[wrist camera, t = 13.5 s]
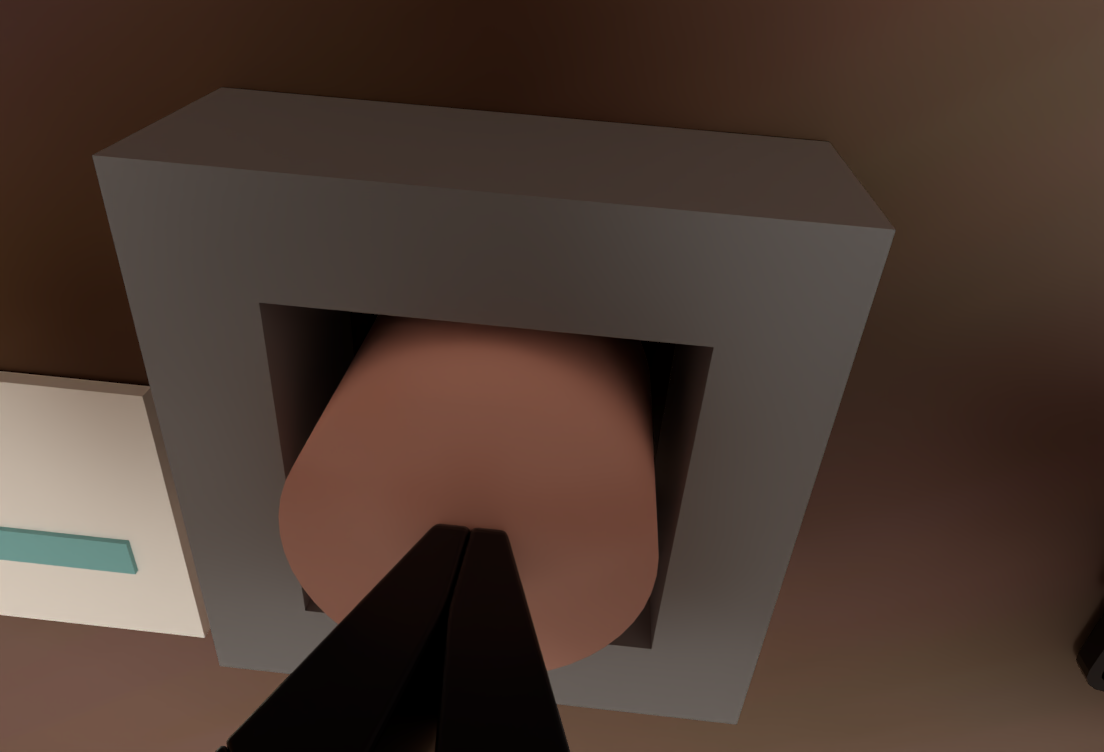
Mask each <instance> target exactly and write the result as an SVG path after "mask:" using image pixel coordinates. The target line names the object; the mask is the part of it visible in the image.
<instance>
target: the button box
mask: <svg viewBox="0 0 1104 752" xmlns="http://www.w3.org/2000/svg"><path fill="white" fill-rule="evenodd" d="M92 157H93V161H94V165H95V169H96V173H97V177H98V181H99V185H100V189H101V193H102V197H103V201H104V205H105V209H106V213H107V217H108V221H109V225H110V229H111V233H112V237H113V241H114V245H115V249H116V253H117V257H118V261H119V265H120V269H121V273H122V277H123V281H124V285H125V289H126V293H127V297H128V301H129V305H130V309H131V313H132V317H133V321H134V325H135V329H136V333H137V337H138V341H139V345H140V349H141V353H142V357H143V361H144V365H145V369H146V373H147V377H148V381H149V385H150V389H151V393H152V397H153V401H154V405H155V409H156V413H157V417H158V421H159V425H160V429H161V433H162V437H163V441H164V445H165V449H166V453H167V457H168V461H169V465H170V469H171V473H172V477H173V481H174V485H175V489H176V493H177V497H178V501H179V505H180V509H181V513H182V517H183V521H184V525H185V529H186V533H187V537H188V541H189V545H190V549H191V553H192V557H193V561H194V565H195V569H196V573H197V577H198V581H199V585H200V589H201V593H202V597H203V601H204V605H205V609H206V613H207V616H208V620H209V624H210V628H211V632H212V636H213V640H214V644H215V648H216V652H217V656H218V660H219V664H220V666H225V667H234V668H242V669H251V670H260V671H269V672H278V673H287V674H291V673H292V672H293V671H294V670H295V669H296V668H297V667H298V666H299V665H300V664H301V663H302V662H303V661H304V659H305V658H306V657H307V656H308V655H309V654H310V653H311V652H312V651H313V650H314V649H315V648H316V647H317V646H318V645H319V644H320V643H321V642H322V641H323V640H324V639H325V638H326V637H327V636H328V634H329V633H330V632H331V631H332V630H333V629H334V628H335V627H336V626H337V625H338V624H337V623H336V622H335V621H333V620H332V619H331V618H330V617H329V616H327V615H326V614H325V613H324V612H323V611H322V610H321V609H320V608H319V607H318V606H317V605H316V604H315V603H314V601H313V600H312V599H311V598H310V596H309V595H308V594H307V593H306V591H305V590H304V589H303V587H302V586H301V585H300V583H299V581H298V580H297V578H296V576H295V575H294V573H293V571H292V570H291V567H290V565H289V562H288V560H287V558H286V555H285V553H284V549H283V545H282V541H281V537H280V531H279V518H278V515H279V505H280V497H281V494H282V491H283V487H284V484H285V481H286V479H287V477H288V475H289V473H290V471H291V469H292V467H293V465H294V463H295V461H296V460H297V458H298V456H299V454H300V452H301V451H302V449H303V447H304V445H305V444H306V442H307V440H308V438H309V437H310V435H311V433H312V431H313V429H314V428H315V426H316V424H317V422H318V421H319V419H320V417H321V415H322V414H323V412H324V410H325V408H326V406H327V405H328V403H329V401H330V399H331V398H332V396H333V394H334V392H335V391H336V389H337V387H338V385H339V383H340V382H341V380H342V378H343V376H344V375H345V373H346V371H347V369H348V368H349V366H350V364H351V362H352V360H353V359H354V351H353V338H352V326H351V313H350V312H360V313H370V314H380V315H391V316H401V317H411V318H421V319H431V320H441V321H452V322H462V323H472V324H482V325H492V326H502V327H513V328H523V329H533V330H543V331H553V332H563V333H574V334H584V335H594V336H604V337H614V338H625V339H635V340H645V341H655V342H665V343H675V344H676V345H675V350H674V356H673V362H672V368H671V373H670V379H669V385H668V390H667V396H666V402H665V407H664V413H663V419H662V424H661V430H660V436H659V441H658V447H657V453H656V459H655V464H654V465H655V487H656V509H657V530H658V552H659V559H658V569H657V576H656V580H655V583H654V586H653V590H652V593H651V595H650V597H649V599H648V601H647V603H646V605H645V607H644V609H643V610H642V611H641V613H640V614H639V615H638V617H637V618H636V620H635V621H634V622H633V623H632V624H631V625H630V626H629V627H628V628H627V629H626V630H625V631H624V632H623V633H622V634H621V635H620V636H619V637H618V638H616V639H615V640H614V641H612V642H611V643H610V644H608V645H607V646H606V647H604V648H602V649H601V650H599V651H597V652H595V653H594V654H592V655H590V656H588V657H586V658H584V659H581V660H579V661H577V662H574V663H572V664H569V665H566V666H563V667H559V668H556V669H553V670H549V671H547V673H548V676H549V680H550V683H551V687H552V690H553V694H554V697H555V701H556V704H560V705H569V706H578V707H587V708H596V709H604V710H613V711H622V712H631V713H640V714H648V715H657V716H666V717H675V718H684V719H693V720H701V721H710V722H719V723H728V724H737V722H738V719H739V716H740V713H741V710H742V706H743V703H744V700H745V697H746V694H747V691H748V688H749V685H750V682H751V678H752V675H753V672H754V669H755V666H756V663H757V660H758V657H759V654H760V650H761V647H762V644H763V641H764V638H765V635H766V632H767V629H768V626H769V623H770V619H771V616H772V613H773V610H774V607H775V604H776V601H777V598H778V595H779V591H780V588H781V585H782V582H783V579H784V576H785V573H786V570H787V567H788V563H789V560H790V557H791V554H792V551H793V548H794V545H795V542H796V539H797V535H798V532H799V529H800V526H801V523H802V520H803V517H804V514H805V511H806V507H807V504H808V501H809V498H810V495H811V492H812V489H813V486H814V483H815V479H816V476H817V473H818V470H819V467H820V464H821V461H822V458H823V455H824V451H825V448H826V445H827V442H828V439H829V436H830V433H831V430H832V427H833V423H834V420H835V417H836V414H837V411H838V408H839V405H840V402H841V399H842V395H843V392H844V389H845V386H846V383H847V380H848V377H849V374H850V371H851V367H852V364H853V361H854V358H855V355H856V352H857V349H858V346H859V343H860V339H861V336H862V333H863V330H864V327H865V324H866V321H867V318H868V315H869V311H870V308H871V305H872V302H873V299H874V296H875V293H876V290H877V287H878V283H879V280H880V277H881V274H882V271H883V268H884V265H885V262H886V259H887V255H888V252H889V249H890V246H891V243H892V240H893V237H894V234H895V231H896V230H895V228H894V227H893V226H892V224H891V223H890V222H889V220H888V219H887V218H886V216H885V215H884V214H883V212H882V211H881V210H880V208H879V207H878V206H877V204H876V203H875V202H874V200H873V199H872V198H871V196H870V195H869V194H868V192H867V191H866V190H865V188H864V187H863V186H862V185H861V183H860V182H859V181H858V179H857V178H856V177H855V175H854V174H853V173H852V171H851V170H850V169H849V167H848V166H847V165H846V163H845V162H844V161H843V159H842V158H841V157H840V155H839V154H838V153H837V151H836V150H835V149H834V147H833V146H832V145H831V143H830V142H826V141H815V140H804V139H792V138H781V137H770V136H759V135H748V134H737V133H725V132H714V131H703V130H692V129H681V128H670V127H659V126H647V125H636V124H625V123H614V122H603V121H592V120H580V119H569V118H558V117H547V116H536V115H525V114H513V113H502V112H491V111H480V110H469V109H458V108H447V107H435V106H424V105H413V104H402V103H391V102H380V101H368V100H357V99H346V98H335V97H324V96H313V95H302V94H290V93H279V92H268V91H257V90H246V89H235V88H223V87H221V88H219V89H217V90H215V91H213V92H211V93H210V94H208V95H206V96H204V97H202V98H200V99H198V100H196V101H194V102H192V103H191V104H189V105H187V106H185V107H183V108H181V109H179V110H177V111H175V112H173V113H172V114H170V115H168V116H166V117H164V118H162V119H160V120H158V121H156V122H154V123H152V124H151V125H149V126H147V127H145V128H143V129H141V130H139V131H137V132H135V133H133V134H132V135H130V136H128V137H126V138H124V139H122V140H120V141H118V142H116V143H114V144H112V145H111V146H109V147H107V148H105V149H103V150H101V151H99V152H97V153H95V154H93V155H92Z"/></svg>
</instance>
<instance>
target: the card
mask: <svg viewBox="0 0 1104 752" xmlns="http://www.w3.org/2000/svg"><path fill="white" fill-rule="evenodd" d="M0 615H6V616H15V617H24V618H33V619H42V620H51V621H60V622H69V623H78V624H87V625H96V626H104V627H113V628H122V629H131V630H140V631H149V632H158V633H167V634H176V635H185V636H194V637H202V638H205V637H206V635H207V633H208V631H209V629H210V624H209V620H208V616H207V613H206V609H205V605H204V601H203V597H202V593H201V589H200V585H199V581H198V577H197V573H196V569H195V565H194V561H193V557H192V553H191V549H190V545H189V541H188V537H187V533H186V529H185V525H184V521H183V517H182V513H181V509H180V505H179V501H178V497H177V493H176V489H175V485H174V481H173V477H172V473H171V469H170V465H169V461H168V457H167V453H166V449H165V445H164V441H163V437H162V433H161V429H160V425H159V421H158V417H157V413H156V409H155V405H154V401H153V397H152V393H151V389H150V386H142V385H132V384H122V383H112V382H103V381H93V380H83V379H73V378H63V377H54V376H44V375H34V374H24V373H15V372H5V371H0Z"/></svg>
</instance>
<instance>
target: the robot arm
mask: <svg viewBox="0 0 1104 752" xmlns="http://www.w3.org/2000/svg"><path fill="white" fill-rule="evenodd" d="M1076 661H1077V664H1078V666H1079V668H1080V670H1081V672H1082V673H1083V675H1084V677H1085V679H1086V680H1087V682H1088V684H1089V685H1090V686H1092V687H1093V688H1094V689H1096V690H1100V691H1104V615H1103V616H1102V618H1101V619H1100V621H1099V622H1098V624H1097V625H1096V627H1095V628H1094V630H1093V631H1092V633H1091V634H1090V636H1089V637H1088V639H1087V640H1086V642H1085V643H1084V645H1083V647H1082V648H1081V650H1080V651H1079V653H1078V655H1077V658H1076ZM227 748H228V749H227ZM216 752H570V750H569V746H568V743H567V739H566V736H565V732H564V729H563V725H562V722H561V718H560V715H559V711H558V708H557V704H556V701H555V697H554V694H553V690H552V687H551V683H550V680H549V676H548V673H547V669H546V666H545V662H544V659H543V655H542V652H541V649H540V645H539V642H538V638H537V635H536V631H535V628H534V624H533V621H532V617H531V614H530V610H529V607H528V603H527V600H526V596H525V593H524V589H523V586H522V582H521V579H520V575H519V572H518V568H517V565H516V561H515V558H514V554H513V551H512V547H511V544H510V540H509V537H508V535H507V533H506V532H505V531H503V530H496V529H487V528H474V529H473V530H472V531H471V532H470V530H469V528H467V527H466V526H458V525H449V524H436V525H434V526H432V527H431V528H430V529H429V530H428V531H427V532H426V534H425V535H424V536H423V537H422V538H421V539H420V540H419V541H418V542H417V543H416V544H415V545H414V546H413V547H412V548H411V549H410V550H409V551H408V552H407V553H406V554H405V555H404V556H403V557H402V559H401V560H400V561H399V562H398V563H397V564H396V565H395V566H394V567H393V568H392V569H391V570H390V571H389V572H388V573H387V574H386V575H385V576H384V577H383V578H382V579H381V580H380V581H379V582H378V584H377V585H376V586H375V587H374V588H373V589H372V590H371V591H370V592H369V593H368V594H367V595H366V596H365V597H364V598H363V599H362V600H361V601H360V602H359V603H358V604H357V605H356V606H355V607H354V608H353V610H352V611H351V612H350V613H349V614H348V615H347V616H346V617H345V618H344V619H343V620H342V621H341V622H340V623H339V624H338V625H337V626H336V627H335V628H334V629H333V630H332V631H331V632H330V633H329V634H328V636H327V637H326V638H325V639H324V640H323V641H322V642H321V643H320V644H319V645H318V646H317V647H316V648H315V649H314V650H313V651H312V652H311V653H310V654H309V655H308V656H307V657H306V658H305V659H304V661H303V662H302V663H301V664H300V665H299V666H298V667H297V668H296V669H295V670H294V671H293V672H292V673H291V674H290V675H289V676H288V677H287V678H286V679H285V680H284V681H283V682H282V683H281V684H280V685H279V687H278V688H277V689H276V690H275V691H274V692H273V693H272V694H271V695H270V696H269V697H268V698H267V699H266V700H265V701H264V702H263V703H262V704H261V705H260V706H259V707H258V708H257V709H256V710H255V712H254V713H253V714H252V715H251V716H250V717H249V718H248V719H247V720H246V721H245V722H244V723H243V724H242V725H241V726H240V727H239V728H238V729H237V730H236V731H235V732H234V733H233V734H232V735H231V736H230V738H229V739H228V740H227V747H225V746H221V747H219V748H218V749H217V750H216Z"/></svg>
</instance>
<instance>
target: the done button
mask: <svg viewBox="0 0 1104 752" xmlns="http://www.w3.org/2000/svg"><path fill="white" fill-rule="evenodd" d="M278 518H279V531H280V537H281V541H282V545H283V549H284V553H285V555H286V558H287V560H288V562H289V565H290V567H291V570H292V571H293V573H294V575H295V576H296V578H297V580H298V581H299V583H300V585H301V586H302V587H303V589H304V590H305V591H306V593H307V594H308V595H309V596H310V598H311V599H312V600H313V601H314V603H315V604H316V605H317V606H318V607H319V608H320V609H321V610H322V611H323V612H324V613H325V614H326V615H327V616H329V617H330V618H331V619H332V620H333V621H335V622H336V623H337V624H339V623H340V622H341V621H342V620H343V619H344V618H345V617H346V616H347V615H348V614H349V613H350V612H351V611H352V610H353V608H354V607H355V606H356V605H357V604H358V603H359V602H360V601H361V600H362V599H363V598H364V597H365V596H366V595H367V594H368V593H369V592H370V591H371V590H372V589H373V588H374V587H375V586H376V585H377V584H378V582H379V581H380V580H381V579H382V578H383V577H384V576H385V575H386V574H387V573H388V572H389V571H390V570H391V569H392V568H393V567H394V566H395V565H396V564H397V563H398V562H399V561H400V560H401V559H402V557H403V556H404V555H405V554H406V553H407V552H408V551H409V550H410V549H411V548H412V547H413V546H414V545H415V544H416V543H417V542H418V541H419V540H420V539H421V538H422V537H423V536H424V535H425V534H426V532H427V531H428V530H429V529H430V528H431V527H432V526H434V525H436V524H449V525H458V526H466V527H467V528H469V530H470V532H471V531H472V530H473V529H474V528H487V529H496V530H503V531H505V532H506V533H507V535H508V537H509V540H510V544H511V547H512V551H513V554H514V558H515V561H516V565H517V568H518V572H519V575H520V579H521V582H522V586H523V589H524V593H525V596H526V600H527V603H528V607H529V610H530V614H531V617H532V621H533V624H534V628H535V631H536V635H537V638H538V642H539V645H540V649H541V652H542V655H543V659H544V662H545V666H546V669H547V671H549V670H553V669H556V668H559V667H563V666H566V665H569V664H572V663H574V662H577V661H579V660H581V659H584V658H586V657H588V656H590V655H592V654H594V653H595V652H597V651H599V650H601V649H602V648H604V647H606V646H607V645H608V644H610V643H611V642H612V641H614V640H615V639H616V638H618V637H619V636H620V635H621V634H622V633H623V632H624V631H625V630H626V629H627V628H628V627H629V626H630V625H631V624H632V623H633V622H634V621H635V620H636V618H637V617H638V615H639V614H640V613H641V611H642V610H643V609H644V607H645V605H646V603H647V601H648V599H649V597H650V595H651V593H652V590H653V586H654V583H655V580H656V576H657V569H658V559H659V552H658V530H657V509H656V487H655V465H654V443H653V421H652V400H651V382H650V370H649V366H648V362H647V357H646V354H645V351H644V349H643V346H642V344H641V341H640V340H635V339H625V338H614V337H604V336H594V335H584V334H574V333H563V332H553V331H543V330H533V329H523V328H513V327H502V326H492V325H482V324H472V323H462V322H452V321H441V320H431V319H421V318H411V317H401V316H391V315H380V314H378V316H377V318H376V320H375V322H374V323H373V325H372V327H371V329H370V330H369V332H368V334H367V336H366V337H365V339H364V341H363V343H362V345H361V346H360V348H359V350H358V352H357V353H356V355H355V357H354V359H353V360H352V362H351V364H350V366H349V368H348V369H347V371H346V373H345V375H344V376H343V378H342V380H341V382H340V383H339V385H338V387H337V389H336V391H335V392H334V394H333V396H332V398H331V399H330V401H329V403H328V405H327V406H326V408H325V410H324V412H323V414H322V415H321V417H320V419H319V421H318V422H317V424H316V426H315V428H314V429H313V431H312V433H311V435H310V437H309V438H308V440H307V442H306V444H305V445H304V447H303V449H302V451H301V452H300V454H299V456H298V458H297V460H296V461H295V463H294V465H293V467H292V469H291V471H290V473H289V475H288V477H287V479H286V481H285V484H284V487H283V491H282V494H281V497H280V505H279V515H278Z"/></svg>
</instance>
